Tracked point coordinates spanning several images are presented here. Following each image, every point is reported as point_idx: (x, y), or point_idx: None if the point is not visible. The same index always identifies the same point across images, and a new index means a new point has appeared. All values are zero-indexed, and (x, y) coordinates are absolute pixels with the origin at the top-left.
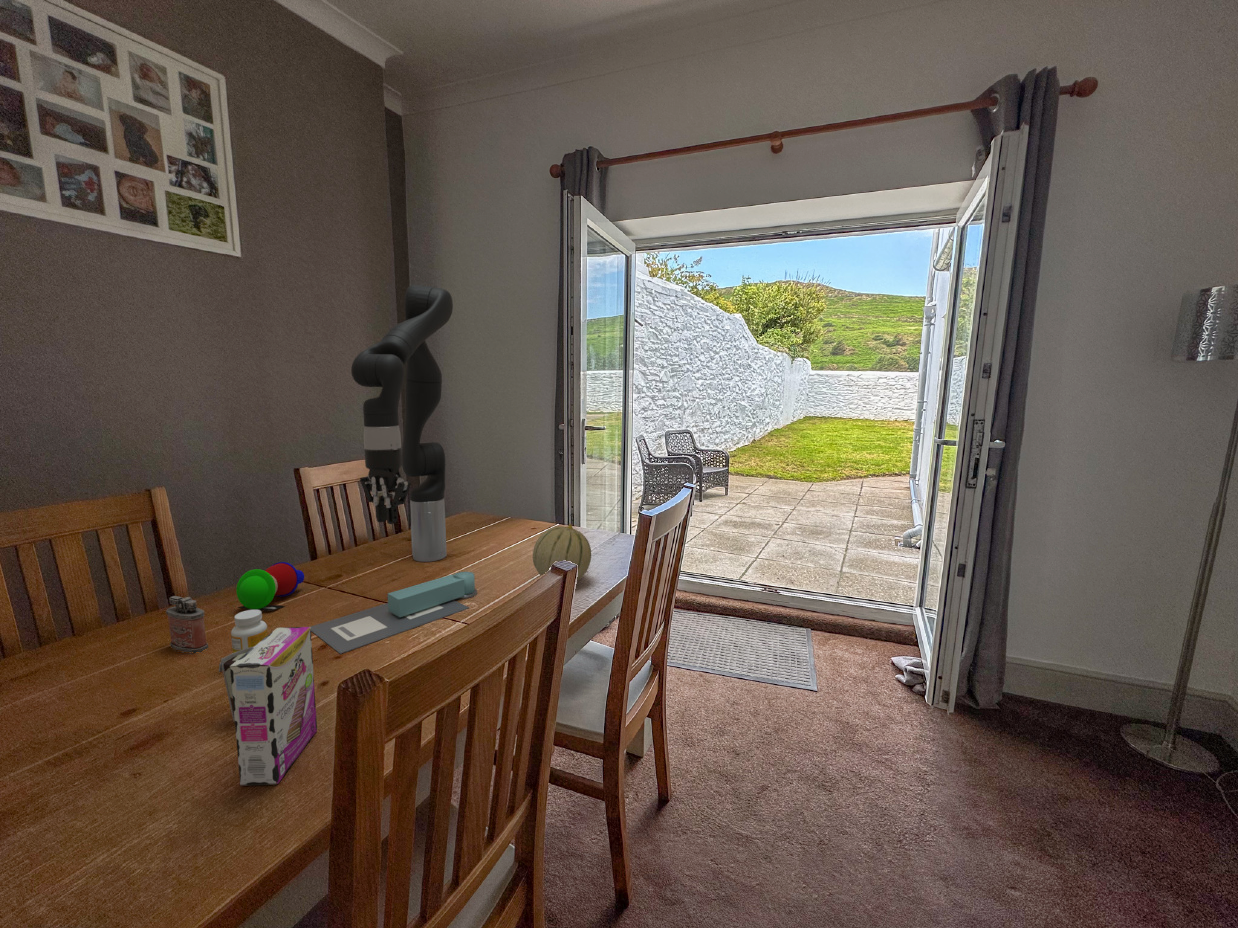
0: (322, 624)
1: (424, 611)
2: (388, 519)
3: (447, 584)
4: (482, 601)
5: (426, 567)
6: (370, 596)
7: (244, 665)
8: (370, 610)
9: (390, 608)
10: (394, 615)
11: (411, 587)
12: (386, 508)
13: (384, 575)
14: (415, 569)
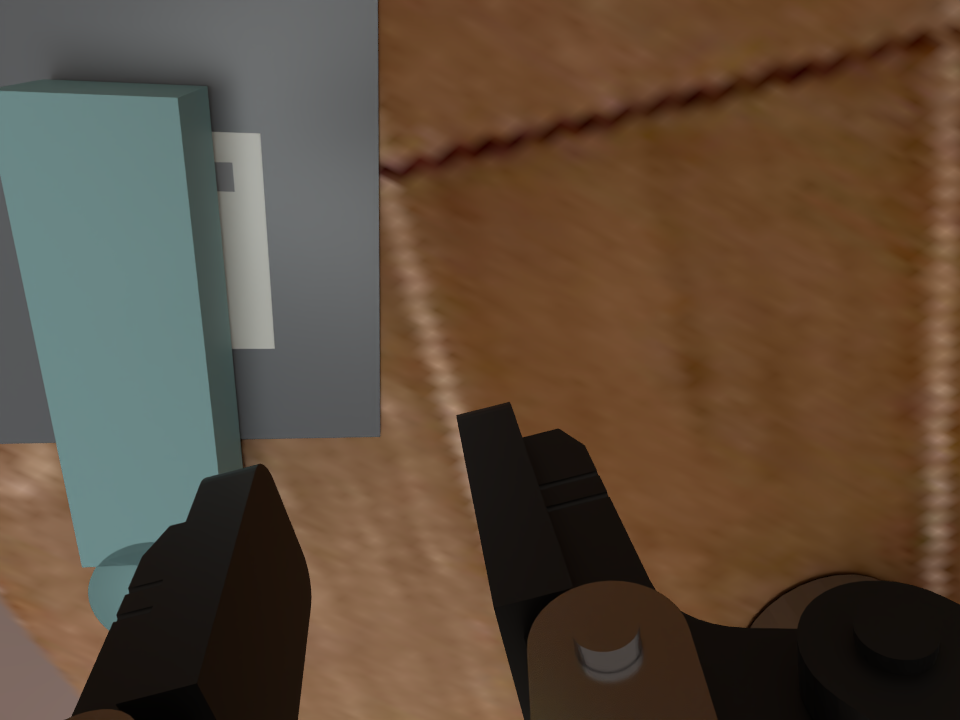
0: None
1: None
2: (201, 510)
3: (63, 462)
4: (15, 530)
5: (707, 566)
6: (574, 151)
7: None
8: (337, 23)
9: (169, 87)
10: None
11: (177, 279)
12: (188, 673)
13: (803, 368)
14: (732, 517)
